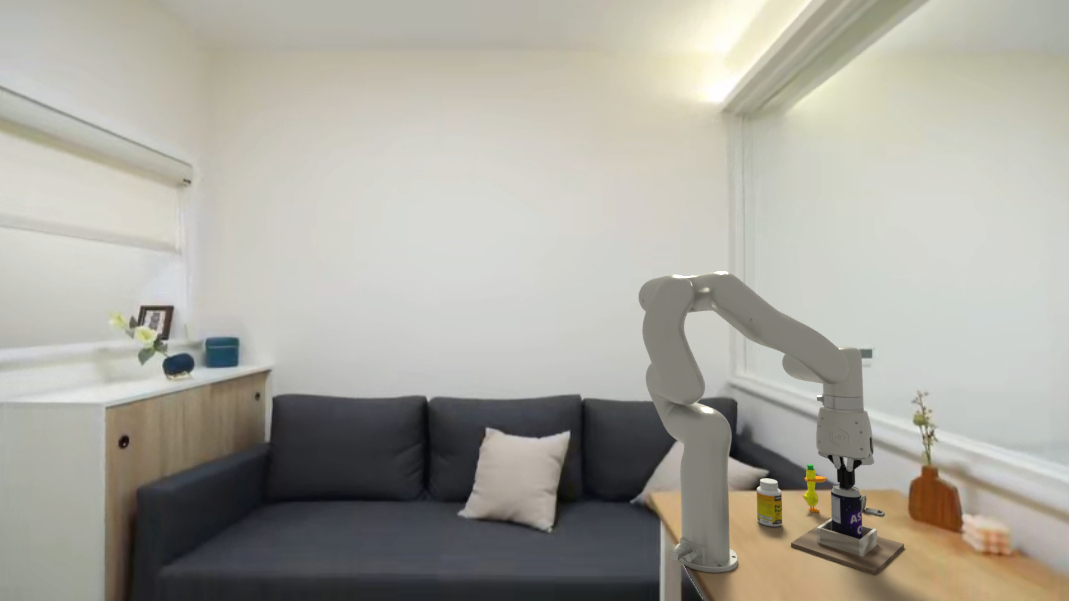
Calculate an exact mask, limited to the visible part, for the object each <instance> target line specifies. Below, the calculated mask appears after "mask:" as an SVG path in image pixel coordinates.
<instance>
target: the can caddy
mask: <svg viewBox="0 0 1069 601" xmlns="http://www.w3.org/2000/svg"><path fill="white" fill-rule="evenodd" d="M790 547H792V548H794V549H796V550H800V551H803V552H806V553H810V554H812V555H814V556H818V557H821V558H823V557H824V558H823V559H826V558H827V559H826V560H829V559H830V561H832V560H833V561H832V562H836V563H838V564H842V565H845V566H848V567H850V568H853V569H856V570H859V571H862V572H865V573H869V574H870V575H874V576H877V575H878V573H880V571H881V570H882V569H883V568H885V567H886V566H887V565H888V564H889V563H890V562H891V561H892V560H893V559H894V558H895V557H897V555H898V554H899V553H900V552H901V551H903V549H905V543H902V542H899V541H895V540H892V539H889V538H885V537H881V536H878V529H876V528H874V527H871V526H866V525H863V524H862V538H861V539H857V538H854V537H851V536H847V535H844V534H840V533H837V532H834V531H832V517H831V518H829V519H828V520H826V521H823V522H821V523H820V524H818V525H817V526H815V527H813V528H812V529H810V530H809V531H807V532H806V533H804V534H802V535H801V536H799V537H797V538H796V539H794V540H793V541H792V542H791V543H790Z"/></svg>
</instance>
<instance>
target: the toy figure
mask: <svg viewBox="0 0 1069 601" xmlns="http://www.w3.org/2000/svg"><path fill="white" fill-rule="evenodd" d="M805 471H806V472H805V475H806V476H805V477H804V481H805V482H806V485H807V490H806V491H805V493H804V494H801V495H802V497H803V499H804V500H805V502H806V503H807V505H808V506H809V509H808V511H810V512H811V513H814V514H815V513H817V514H818V513H820V509H818V508H816V506H817V505H818V503H819V495H818V493H817V492H816V491H815V490H816V489H815V488H816V483H825V482H826V480H828V478H827V477H826V476H822V475H816V468H815V467H814V464H813V463H806V467H805Z"/></svg>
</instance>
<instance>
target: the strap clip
mask: <svg viewBox="0 0 1069 601" xmlns="http://www.w3.org/2000/svg"><path fill="white" fill-rule="evenodd" d="M861 499H862V512H863V511H864V513H866V514H868V515H872V516H876V517H880V518H881V517H883V516H885V512H884V511H883V510H881V509H878V508H873V507H866V505H867V495H866V494H861Z"/></svg>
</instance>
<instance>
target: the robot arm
mask: <svg viewBox="0 0 1069 601" xmlns="http://www.w3.org/2000/svg"><path fill="white" fill-rule="evenodd" d="M638 302H639V305H640V306H641V309H643V311H644V312H645V314H644V316H643V322H642V329H641V330H642V331H641V332H642V339H643V344H644V345H645V349H646V352H647V355H648V357H649V359H650V364H649V365H648V367H647V369H646V372H645V385H646V388H647V391H648V393H649V396H650V398H651V400H652V402H653V405H654V407H655V410H656V412H657V414H658V416H659V419H660V420H661V422H662V423H661V424H662V425H663V427H664V429H665V430H666V431H667V433H668V434H669V435H670V436H671V437H672V438H673V439H675V440H676V441H678V442H680V443H681V444H682V445H683V451H682V456H681V461H680V466H679V467H680V472H679V474H680V476H679V480H680V510H681V512H680V515H681V517H680V520H681V524H680V525H681V538H679V543H678V544H676V545H675V547H674V548H673V550H671V551H670V552H669V556H670V559H672V561H675V562H676V561H678V562H679V563H681V564H682V565H684V566H686V567H687V568H691V569H693V570H696V571H701V572H704V573H705V572H706V573H724V572H725V573H727V572H729V571H732V570H734V569H736V567H737V566H738V565H739V557H738V556H739V555H738V554H737V553H736V551H735V550H733V549H732V548H730V546H731V545H730V544H731V542H730V541H731V540H730V508H729V507H730V506H729V504H730V503H729V501H730V500H729V495H730V494H729V457H730V451H731V445H732V428H731V425H730V422H729V421H728V419H727V418H726V417H725V415H723V413H721V412H720V411H718V410H717V409H715V408H713V407H711V406H708V405H705V404H703V403H699V401H700V400H701V399H702V398H703V396H704V394H705V391H706V383H705V380H704V376H703V373H702V371H701V369H700V366H699V365H698V363H697V361H696V359H695V358H696V357H695V356H694V353H693V352H692V349H691V347H690V345H689V342H688V340H687V337H686V332H685V321H686V317H687V315H688V314H691V313H699V312H707V311H711V312H712V311H713V312H715V313H716V314H717V315H718V316H719V317H721V318H722V319H723V320H724V321H725V322H726V323H728V324H729V325H731V326H732V327H733V328H734V329H736V330H737V331H738V332H739V333H740V334H742V336H743V337H744V338H746V339H748V340H749V341H752V342H754V343H756V344H759V345H761V346H763V347H765V348H766V347H767V348H769V349H773V350H775V351H778V352H780V353H783V354H784V355H783V357H782V359H781V363H782V364H781V365H782V368H783V370H784V371H785V373H787V375H788V376H789V377H792V378H793V379H796V380H800V381H806V382H811V383H817V384H822V394H821V395H817V396H816V400H817V402H821V403H822V406H820V407H819V409H818V414H817V421H816V422H817V423H816V433H815V434H816V436H815V442H816V443H815V444H816V445H815V446H816V449H817V453H818V456H820V457H823V458H825V459H828V460H829V461H830V463H831V464H833V466H834V468H835V469H836V479H837V480H836V481H837V483H838V484H839V485H840V488H845V489H847V490H849V489H850V488H852V487H853V486H854V487H855V485H856V474H855V473H856V471H855V470H856V469H857V468H859V467H861V466H872V465H874V464H875V459H874V456H873V455H874V438H873V431H872V426H871V420H870V418H869V417H870V416H869V413H868V411H867V410H865V409H864V408H865V404H864V385H863V383H864V380H863V360H862V352H861V350H860V349H858V348H857V347H852V346H836V345H835V344H834V343H833V342H832V341H831V340H829V339H828V338H827V337H826V336H825V335H823V334H822V333H820V332H819V331H817V330H816V329H814V328H812V327H810V326H809V325H806V324H804V322H801V321H799V320H797V319H796V318H793V317H792V316H789V315H788V314H785V313H784V312H782V311H779V310H778V309H776V308H775V307H774V306H772V305H771V304H769V303H768V301H767V300H765V299H764V298H763V297H761V296H760V295H759V294H757V293H756V292H755V291H754V290H753V289H752V288H751V287H749V285H747V284H746V283H744V282H743V281H742V280H741V279H739V277H737V276H736V275H734V274H733V273H731V272H728V271H723V270H722V271H721V270H720V271H719V270H718V271H714V272H708V273H702V274H696V275H690V276H683V275H679V274H668V275H663V276H660V277H657V278H652V279H649V280H647V281H646V282H645V283H643V284H642V286H641V287H640V290H639V291H638ZM844 458H846V459H847V461H846V462H845V459H844Z"/></svg>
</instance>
